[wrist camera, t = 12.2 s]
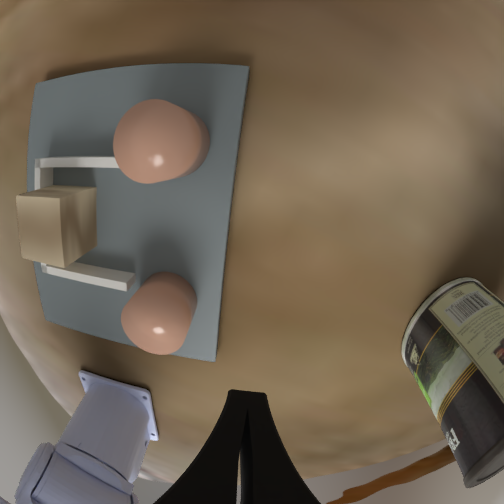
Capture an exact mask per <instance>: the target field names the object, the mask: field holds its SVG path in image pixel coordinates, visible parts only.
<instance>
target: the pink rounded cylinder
mask: <svg viewBox="0 0 504 504" xmlns="http://www.w3.org/2000/svg"><path fill="white" fill-rule="evenodd" d="M196 309H197V296H196V293H195V291H194V289H193V287H192V286H191V285H190V283H189V282H188V281H187V280H185V279H184V278H183V277H181V276H179V275H177V274H175V273H171V272H157V273H154V274H152V275H151V276H149V277H148V278H147V279H146V280H145V281H144V283H143V284H142V285H141V286H140V287H139V289H138V290H137V291H136V292H135V294H134V295H133V296H132V297H131V299H130V300H129V301H128V302H127V304H126V305H125V306H124V308H123V310H122V313H121V323H122V327H123V329H124V332H125V333H126V335H127V336H128V338H129V339H130V340H131V341H132V342H133V343H134V344H135V345H136V346H138V347H139V348H141V349H143V350H145V351H147V352H149V353H153V354H159V355H165V354H170V353H173V352H175V351H177V350H178V349H179V348H180V347H181V346H182V345H183V343H184V340H185V338H186V335H187V332H188V330H189V327H190V325H191V322H192V319H193V317H194V314H195V312H196Z"/></svg>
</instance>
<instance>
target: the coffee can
mask: <svg viewBox="0 0 504 504" xmlns="http://www.w3.org/2000/svg"><path fill="white" fill-rule="evenodd" d="M402 357H403V360H404V362H405V364H406V366H407V367H408V368H409V370H410V371H411V373H412V375H413V376H414V378H415V380H416V382H417V383H418V385H419V387H420V389H421V390H422V392H423V394H424V396H425V398H426V400H427V402H428V403H429V405H430V407H431V409H432V411H433V413H434V415H435V417H436V419H437V421H438V423H439V425H440V427H441V429H442V431H443V433H444V435H445V437H446V439H447V441H448V443H449V446H450V448H451V450H452V452H453V454H454V456H455V459H456V461H457V463H458V465H459V467H460V469H461V472H462V474H463V477H464V479H463V481H464V484H465V487H466V488H471V487H474V486H477V485H479V484H481V483H483V482H485V481H486V480H488V479H490V478H491V477H493V476H494V475H496V474H497V473H499V472H500V471H502V470H503V469H504V302H503V301H502V300H500V299H499V298H498V297H497V296H495V295H494V294H493V293H492V292H490V291H489V290H488V289H487V288H485V287H484V286H483V285H482V283H481V282H479V281H478V280H476V279H474V278H468V277H465V278H459V279H456V280H453V281H451V282H449V283H447V284H445V285H443V286H442V287H440V288H439V289H438V290H436V291H435V292H434V293H433V294H432V295H431V296H430V297H429V298H428V299H426V300H425V301H424V302H423V304H422V305H421V307H420V308H419V309H418V310H417V312H416V313H415V315H414V316H413V317H412V319H411V321H410V323H409V325H408V327H407V329H406V331H405V334H404V337H403V341H402Z"/></svg>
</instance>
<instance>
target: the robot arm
mask: <svg viewBox="0 0 504 504" xmlns="http://www.w3.org/2000/svg"><path fill="white" fill-rule="evenodd" d="M79 376H80V379H81V382H82V385H83V387H84V390H85V393H86V394H85V396H84V397H83V399H82V401H81V402H80V404H79V406H78V407H77V409H76V411H75V413H74V414H73V416H72V418H71V419H70V421H69V423H68V425H67V426H66V428H65V430H64V432H63V434H62V435H61V437H60V439H59V441H58V443H57V444H56V445H55V446H53V445H52V444H51V443H49V442H47V443H41V444H40V445H39V447H38V448H37V450H36V452H35V453H34V455H33V456H32V458H31V460H30V462H29V463H28V465H27V467H26V469H25V471H24V473H23V475H22V477H21V480H20V482H19V486H18V488H17V490H16V493H15V499H16V502H15V503H16V504H140V503H139V500H138V498H137V496H136V495H135V494H134V493H132V490H133V487H134V485H133V484H131V483H133V482H134V481H135V480H136V478H137V476H138V474H139V471H140V468H141V465H142V462H143V459H144V455H145V452H146V449H147V446H148V443H149V440H154V441H158V439H159V436H158V431H157V426H156V422H155V417H154V411H153V406H152V400H151V394H150V392H149V391H148V390H146V389H143V388H139V387H136V386H132V385H128V384H125V383H121V382H118V381H114V380H111V379H108V378H105V377H101V376H98V375H95V374H92V373H89V372H86V371H84V370H80V372H79ZM239 453H240V468H241V502H240V504H321V503H320V502H319V501H318V500H317V499H316V497H315V496H314V495H313V494H312V492H311V491H310V490H309V488H308V487H307V485H306V484H305V483H304V481H303V480H302V478H301V476H300V475H299V473H298V472H297V470H296V468H295V467H294V465H293V463H292V461H291V459H290V457H289V456H288V454H287V452H286V450H285V447H284V445H283V443H282V441H281V439H280V436H279V434H278V431H277V429H276V426H275V424H274V421H273V418H272V415H271V411H270V408H269V404H268V400H267V395H266V394H265V393H260V392H250V391H241V390H233V389H231V390H229V391H228V396H227V399H226V403H225V405H224V408H223V410H222V413H221V415H220V417H219V419H218V421H217V423H216V425H215V427H214V429H213V431H212V433H211V435H210V436H209V438H208V439H207V441H206V443H205V444H204V446H203V447H202V449H201V451H200V452H199V453H198V455H197V456H196V458H195V459H194V460H193V462H192V463H191V464H190V466H189V467H188V468H187V469H186V471H185V472H184V473H183V474H182V475H181V476H180V478H179V479H178V480H177V481H176V482H175V483H174V484H173V485H172V486H171V487H170V488H169V489H168V491H166V492H165V493H164V494H163V495H162V496H161V497H160V498H159V499H158V500H157V501H156V502H155V503H153V504H236V496H237V477H238V461H239ZM0 504H10V503H9V502H7V501H6V500H4V499H3V498H2V497H0Z"/></svg>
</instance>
